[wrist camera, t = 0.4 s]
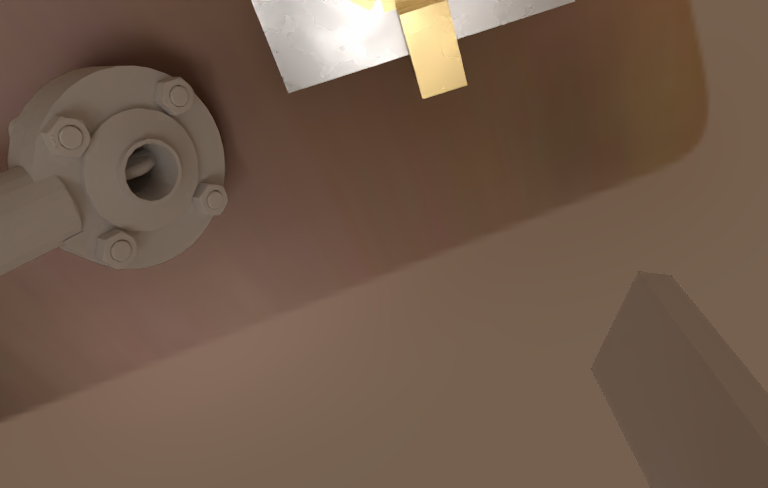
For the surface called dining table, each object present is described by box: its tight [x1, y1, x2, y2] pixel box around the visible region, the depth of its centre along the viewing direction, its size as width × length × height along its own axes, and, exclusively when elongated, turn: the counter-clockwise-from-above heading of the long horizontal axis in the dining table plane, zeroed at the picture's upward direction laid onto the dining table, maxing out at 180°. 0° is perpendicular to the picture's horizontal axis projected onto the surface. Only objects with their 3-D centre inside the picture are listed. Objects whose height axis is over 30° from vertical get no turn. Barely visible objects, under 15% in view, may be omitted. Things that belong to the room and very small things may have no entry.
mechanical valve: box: [0, 66, 228, 276], centre depth 34 cm, size 10×18×15 cm
